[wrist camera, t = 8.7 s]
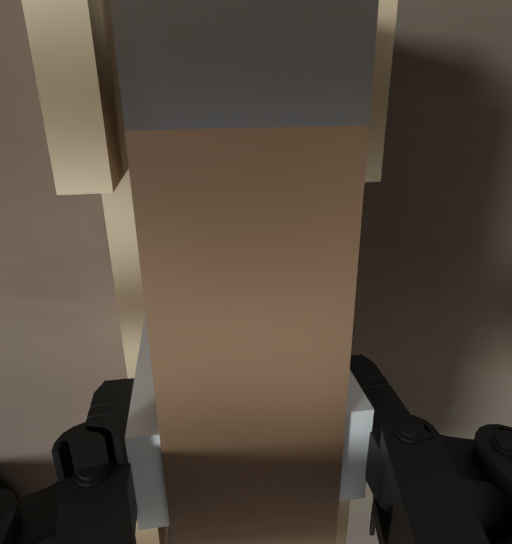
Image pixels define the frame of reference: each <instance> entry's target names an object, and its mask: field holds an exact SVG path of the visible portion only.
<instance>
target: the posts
mask: <svg viewBox="0 0 512 544" xmlns="http://www.w3.org/2000/svg"><path fill="white" fill-rule="evenodd" d="M22 5H23V11H24V16H25V22H26V27H27V33H28V38H29V44H30V49H31V55H32V60H33V66H34V71H35V77H36V82H37V88H38V93H39V99H40V104H41V110H42V115H43V121H44V126H45V132H46V137H47V143H48V148H49V154H50V159H51V165H52V170H53V176H54V181H55V187H56V192H57V195H74V194H98V193H101V194H102V201H103V208H104V215H105V222H106V229H107V236H108V243H109V250H110V257H111V264H112V271H113V278H114V285H115V292H116V299H117V306H118V313H119V320H120V327H121V334H122V341H123V348H124V355H125V362H126V369H127V376H128V379H130V378H135V371H136V365H137V359H138V353H139V347H140V340H141V334H142V328H143V322H144V316H145V305H144V297H143V288H142V279H141V270H140V262H139V253H138V244H137V235H136V227H135V218H134V209H133V200H132V192H131V183H130V174H129V165H128V157H127V148H126V139H125V130H124V122H123V113H122V104H121V95H120V87H119V78H118V69H117V60H116V52H115V43H114V34H113V25H112V17H111V8H110V0H22ZM397 6H398V0H379V7H378V19H377V32H376V45H375V57H374V70H373V82H372V95H371V107H370V120H369V132H368V145H367V158H366V170H365V182H381V172H382V161H383V151H384V141H385V130H386V120H387V110H388V99H389V89H390V78H391V68H392V58H393V47H394V37H395V26H396V16H397ZM349 504H350V500H345V501H339V510H338V522H337V535H336V544H346V535H347V525H348V514H349ZM135 537H136V543H137V544H167V537H168V526H166V527H159V528H152V529H145V530H139V528H138V522H136V532H135Z"/></svg>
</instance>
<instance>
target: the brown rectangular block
mask: <svg viewBox="0 0 512 544" xmlns="http://www.w3.org/2000/svg"><path fill="white" fill-rule="evenodd" d="M378 7H379V0H110V8H111V17H112V25H113V34H114V43H115V52H116V60H117V69H118V78H119V87H120V95H121V104H122V113H123V122H124V130H125V139H126V148H127V157H128V165H129V174H130V183H131V192H132V200H133V209H134V218H135V227H136V235H137V244H138V253H139V262H140V270H141V279H142V288H143V297H144V305H145V314H146V323H147V332H148V340H149V349H150V358H151V367H152V375H153V384H154V393H155V401H156V410H157V419H158V428H159V436H160V445H161V454H162V463H163V471H164V480H165V489H166V498H167V506H168V515H169V524H170V533H171V541H172V544H336V535H337V522H338V510H339V497H340V484H341V472H342V459H343V447H344V434H345V422H346V409H347V396H348V384H349V371H350V359H351V346H352V334H353V321H354V308H355V296H356V283H357V271H358V258H359V246H360V233H361V220H362V208H363V195H364V183H365V170H366V158H367V145H368V132H369V120H370V107H371V95H372V82H373V70H374V57H375V45H376V32H377V19H378Z"/></svg>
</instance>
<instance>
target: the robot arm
mask: <svg viewBox="0 0 512 544" xmlns="http://www.w3.org/2000/svg"><path fill="white" fill-rule="evenodd" d="M51 452H52V456H53V460H54V464H55V469H56V473H57V477H58V481H57V482H55V483H54V484H52V485H51V486H49V487H47V488H45V489H43V490H40V491H38V492H35V493H33V494H30V495H27V496H25V497H22V498H19V499H17V500H16V497H15V495H14V493H12V492H10V491H9V490H7V489H0V544H137V543H136V537H135V532H136V522H138V528H139V530H145V529H152V528H159V527H166V526H170V524H169V515H168V506H167V498H166V489H165V480H164V471H163V463H162V454H161V445H160V436H159V428H158V419H157V410H156V401H155V393H154V384H153V375H152V367H151V358H150V349H149V340H148V332H147V323H146V314H145V316H144V322H143V328H142V334H141V340H140V347H139V353H138V359H137V365H136V371H135V378H130V379H120V380H109V381H104V382H103V384H102V385H101V386H100V387H99V388H98V389H97V390H96V391H95V393H94V395H93V399H92V402H91V406H90V409H89V412H88V416H87V419H86V422H85V423H82V424H79V425H77V426H74V427H72V428H70V429H69V430H67V431H66V432H64V433H63V434H62V435H61V436H60V437H59V438H58V439H57V440H56V441H55V443H54V446H53V449H52V451H51ZM366 481H367V483H368V485H369V487H370V489H371V491H372V493H373V495H374V496H373V504H372V512H371V521H370V535H374V533H375V527H376V532H377V536H378V541H379V544H512V427H508V426H504V425H499V424H488V425H485V426H482V427H480V428H479V429H478V430H477V432H476V434H475V438H474V440H472V439H464V438H456V437H449V436H444V435H440V434H439V433H438V432H437V430H436V429H435V427H434V426H433V425H431V424H430V423H428V422H427V421H426V420H424V419H421V418H419V417H416V416H413V415H411V414H410V413H409V411H408V410H407V409H406V407H405V406H404V404H403V403H402V402H401V400H400V399H399V397H398V396H397V394H396V393H395V392H394V390H393V389H392V387H391V386H390V385H388V382H387V380H386V379H385V378H384V376H382V373H381V372H380V371H379V369H378V368H377V366H376V365H375V363H373V362H372V361H370V360H369V359H367V358H366V357H364V356H363V355H352V356H351V359H350V371H349V384H348V396H347V409H346V422H345V434H344V447H343V459H342V472H341V484H340V497H339V501H345V500H352V499H359V498H365V489H366Z"/></svg>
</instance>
